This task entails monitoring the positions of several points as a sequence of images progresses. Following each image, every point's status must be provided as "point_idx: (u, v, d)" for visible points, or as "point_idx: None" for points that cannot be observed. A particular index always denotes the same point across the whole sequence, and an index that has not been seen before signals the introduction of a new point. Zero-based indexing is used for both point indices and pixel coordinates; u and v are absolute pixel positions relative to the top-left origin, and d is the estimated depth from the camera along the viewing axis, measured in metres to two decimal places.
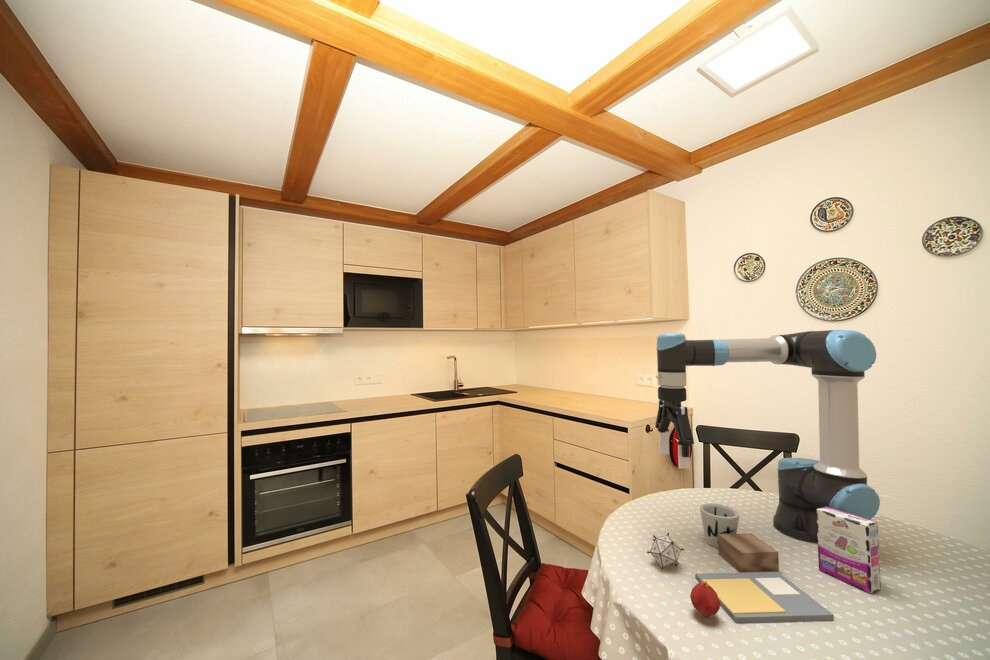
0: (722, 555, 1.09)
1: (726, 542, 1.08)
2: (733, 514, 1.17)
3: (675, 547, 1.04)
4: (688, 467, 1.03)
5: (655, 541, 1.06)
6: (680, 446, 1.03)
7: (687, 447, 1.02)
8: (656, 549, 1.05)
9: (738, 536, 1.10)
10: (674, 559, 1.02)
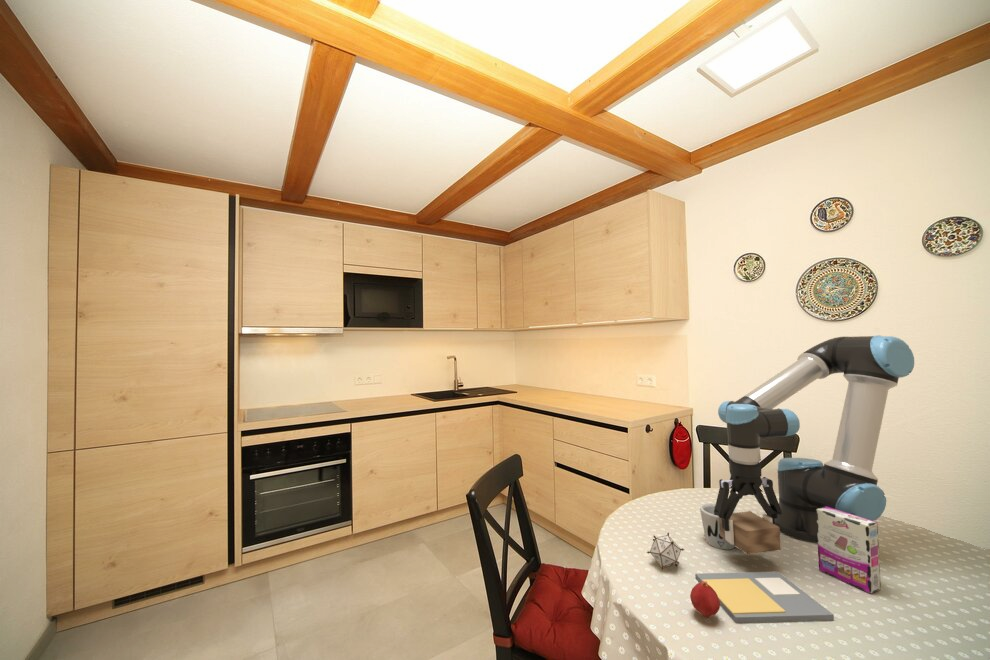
0: (724, 535, 1.09)
1: None
2: None
3: (675, 547, 1.04)
4: (730, 542, 1.06)
5: (655, 541, 1.06)
6: None
7: (723, 520, 1.06)
8: (656, 549, 1.05)
9: (738, 515, 1.10)
10: (674, 559, 1.02)
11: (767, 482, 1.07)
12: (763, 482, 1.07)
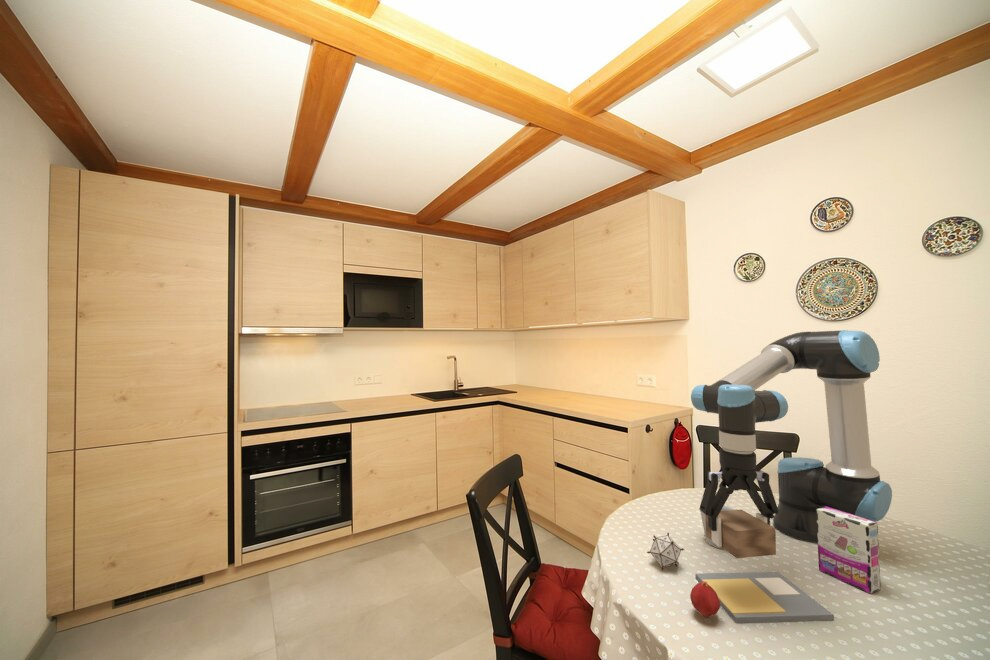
0: (710, 536, 0.94)
1: None
2: None
3: (675, 547, 1.04)
4: (717, 544, 0.90)
5: (655, 541, 1.06)
6: None
7: (710, 518, 0.91)
8: (656, 549, 1.05)
9: (727, 513, 0.95)
10: (674, 559, 1.02)
11: (763, 476, 0.92)
12: (758, 475, 0.92)
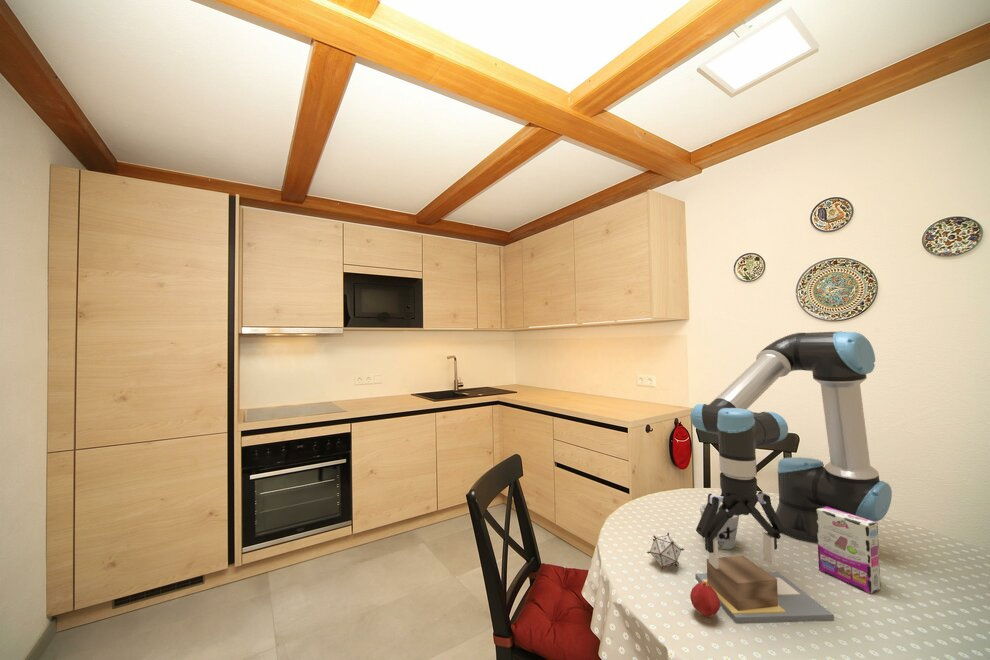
0: (712, 584, 0.94)
1: (717, 569, 0.92)
2: None
3: (675, 547, 1.04)
4: (714, 566, 0.90)
5: (655, 541, 1.06)
6: None
7: (707, 540, 0.91)
8: (656, 549, 1.05)
9: (729, 560, 0.95)
10: (674, 559, 1.02)
11: (764, 498, 0.91)
12: (759, 498, 0.92)
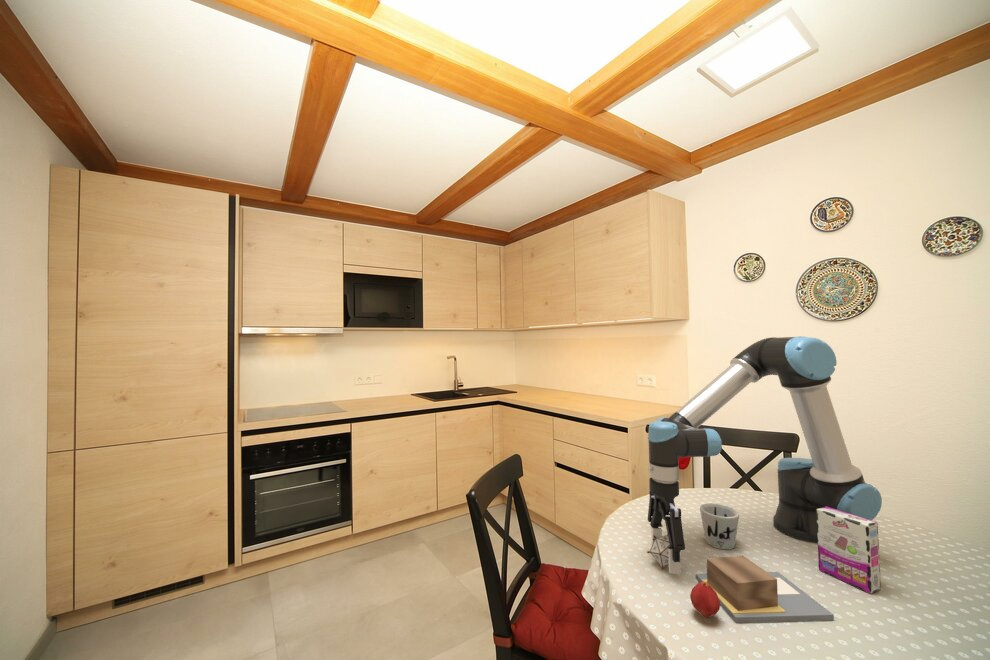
0: (712, 584, 0.94)
1: (717, 569, 0.92)
2: (733, 514, 1.17)
3: None
4: (678, 572, 1.00)
5: (655, 541, 1.06)
6: (671, 549, 1.01)
7: (678, 552, 0.99)
8: (656, 549, 1.05)
9: (729, 560, 0.95)
10: None
11: None
12: None
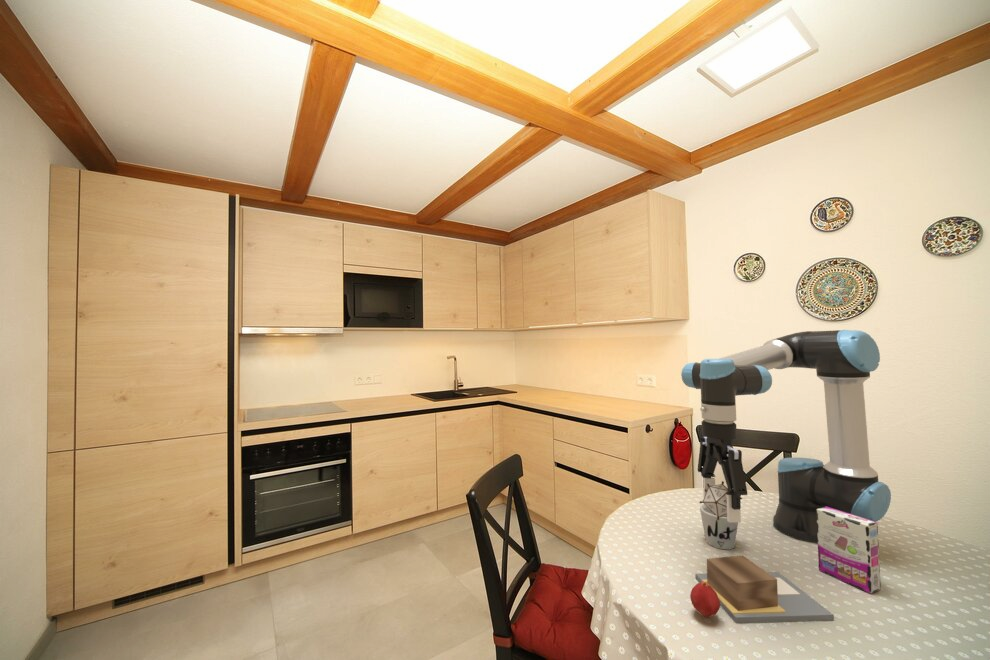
0: (712, 584, 0.94)
1: (717, 569, 0.92)
2: None
3: None
4: (739, 521, 0.90)
5: (709, 489, 0.95)
6: (729, 496, 0.90)
7: (738, 498, 0.89)
8: (711, 498, 0.94)
9: (729, 560, 0.95)
10: None
11: None
12: None
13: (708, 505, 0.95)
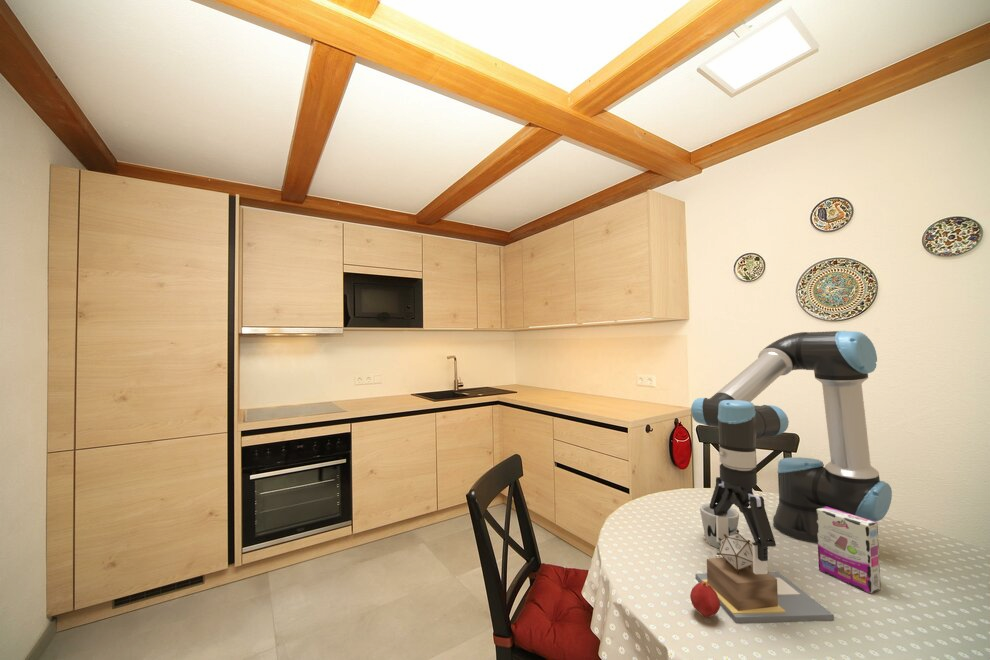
0: (712, 584, 0.94)
1: (717, 569, 0.92)
2: (733, 514, 1.17)
3: (751, 547, 0.90)
4: (765, 572, 0.84)
5: (726, 541, 0.91)
6: (756, 546, 0.85)
7: (765, 548, 0.84)
8: (729, 550, 0.90)
9: None
10: (752, 560, 0.88)
11: None
12: None
13: (726, 557, 0.91)
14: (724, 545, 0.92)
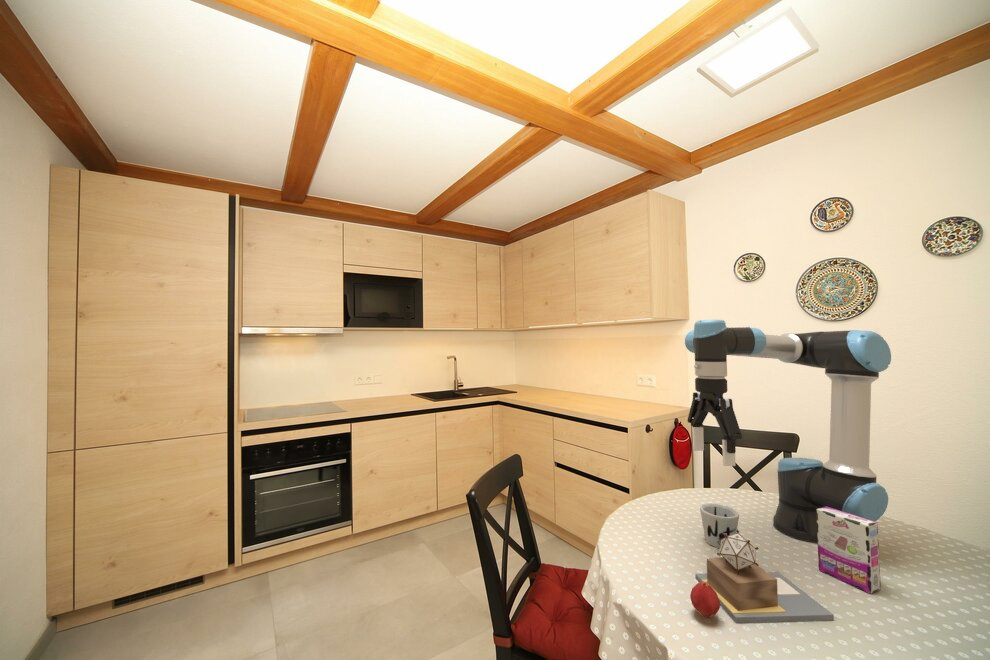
0: (712, 584, 0.94)
1: (717, 569, 0.92)
2: (733, 514, 1.17)
3: (751, 547, 0.90)
4: (733, 464, 0.95)
5: (726, 541, 0.91)
6: (725, 441, 0.95)
7: (733, 442, 0.94)
8: (729, 550, 0.90)
9: None
10: (753, 560, 0.88)
11: None
12: None
13: (726, 557, 0.91)
14: (724, 545, 0.92)
